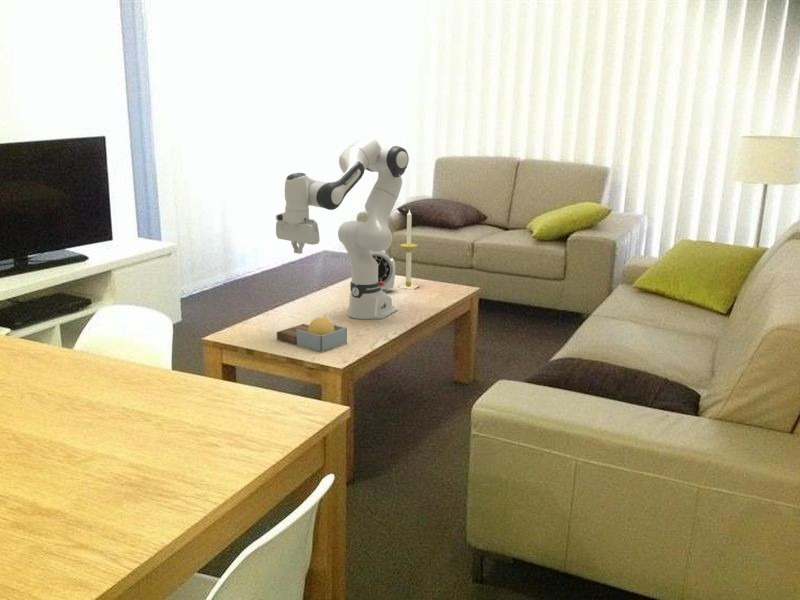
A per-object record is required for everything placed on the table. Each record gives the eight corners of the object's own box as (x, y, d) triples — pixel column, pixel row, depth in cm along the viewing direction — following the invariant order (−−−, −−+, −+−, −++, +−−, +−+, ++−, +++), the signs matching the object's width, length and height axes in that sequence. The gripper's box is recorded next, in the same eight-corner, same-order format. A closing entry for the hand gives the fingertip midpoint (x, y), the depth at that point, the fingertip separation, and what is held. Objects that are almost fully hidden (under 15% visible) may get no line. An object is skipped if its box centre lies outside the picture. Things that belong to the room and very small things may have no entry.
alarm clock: (356, 293, 371) (355, 250, 366) (356, 289, 380) (356, 246, 374) (395, 293, 371) (395, 250, 366) (395, 289, 380) (395, 247, 374)
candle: (421, 288, 381) (422, 210, 372) (401, 289, 379) (402, 210, 369) (415, 283, 391) (416, 206, 381) (395, 284, 388) (396, 207, 378)
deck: (303, 331, 314) (303, 323, 313) (322, 336, 308) (321, 328, 307) (276, 339, 304) (276, 332, 303) (295, 345, 298) (295, 337, 297)
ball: (339, 316, 296) (341, 343, 296) (323, 318, 304) (324, 344, 303) (317, 317, 290) (319, 344, 289) (301, 319, 297) (303, 346, 297)
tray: (322, 336, 308) (322, 321, 306) (346, 343, 300) (346, 327, 299) (296, 345, 298) (296, 329, 296) (321, 352, 290) (321, 336, 288)
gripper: (323, 219, 298) (323, 255, 302) (284, 213, 311) (285, 248, 314) (310, 221, 294) (311, 258, 297) (272, 215, 306) (273, 250, 310)
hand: (298, 253), depth 306 cm, fingers closed
